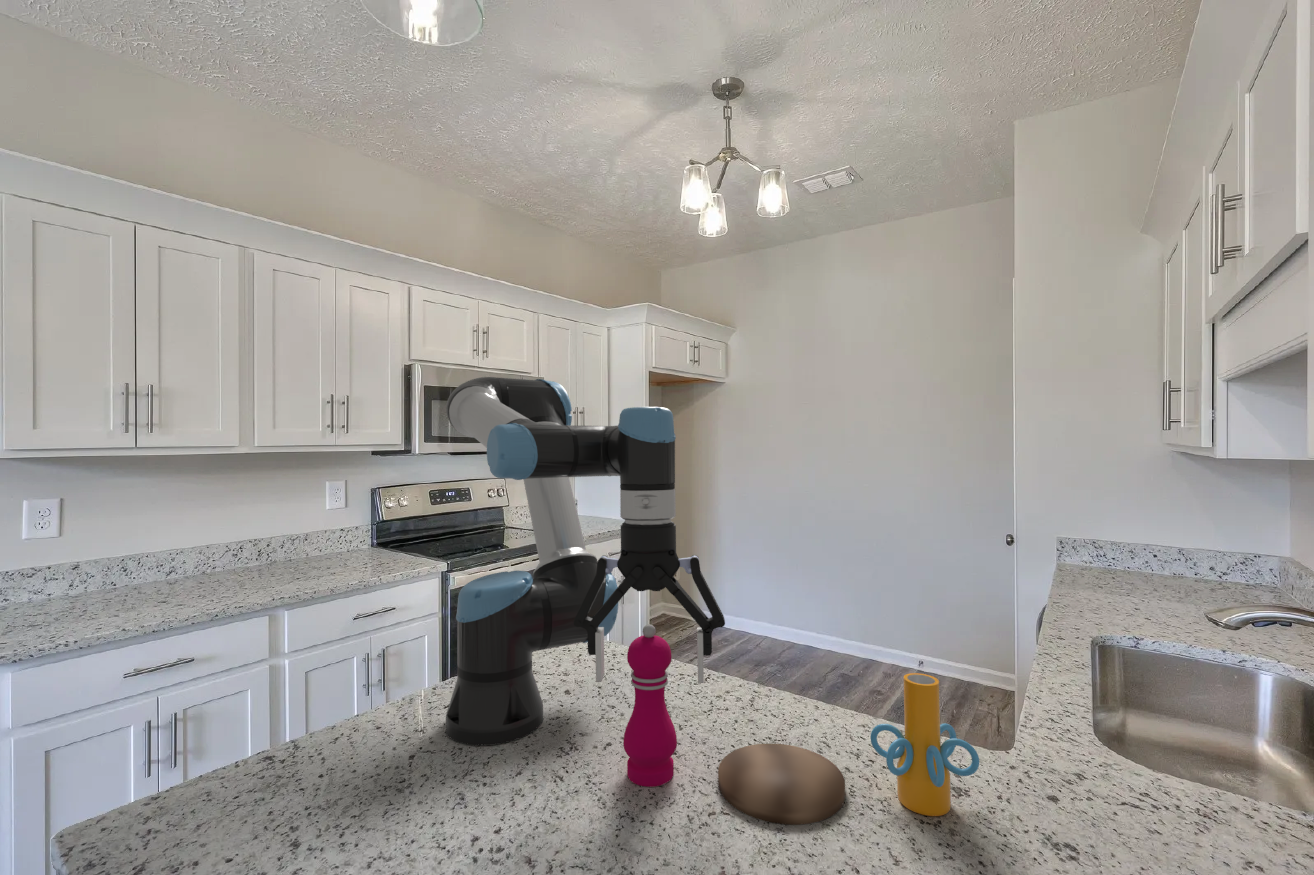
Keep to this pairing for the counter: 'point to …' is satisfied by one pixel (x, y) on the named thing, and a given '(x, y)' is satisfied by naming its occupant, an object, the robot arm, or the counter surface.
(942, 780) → the cylinder
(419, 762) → the counter surface
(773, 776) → the walnut board
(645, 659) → the pepper mill
